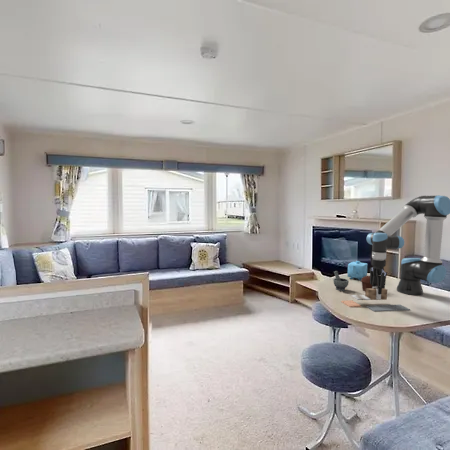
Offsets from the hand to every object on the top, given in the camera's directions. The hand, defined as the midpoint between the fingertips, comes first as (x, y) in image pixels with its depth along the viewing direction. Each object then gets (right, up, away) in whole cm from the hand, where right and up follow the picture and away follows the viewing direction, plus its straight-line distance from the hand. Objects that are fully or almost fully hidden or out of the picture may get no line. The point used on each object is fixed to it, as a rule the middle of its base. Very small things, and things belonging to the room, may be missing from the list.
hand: (376, 298), depth 185 cm
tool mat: (+2, -4, -8) cm, 9 cm away
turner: (-4, 0, -1) cm, 4 cm away
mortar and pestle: (-11, -1, +29) cm, 31 cm away
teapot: (+13, +1, +59) cm, 61 cm away
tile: (-13, -3, -2) cm, 13 cm away
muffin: (+8, -1, +27) cm, 28 cm away
